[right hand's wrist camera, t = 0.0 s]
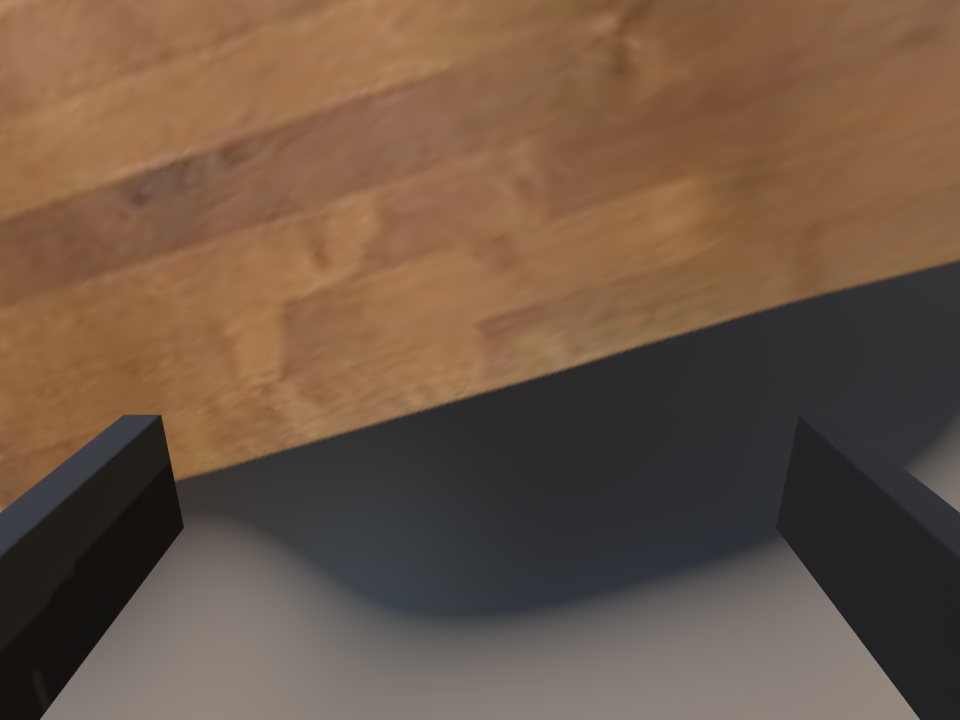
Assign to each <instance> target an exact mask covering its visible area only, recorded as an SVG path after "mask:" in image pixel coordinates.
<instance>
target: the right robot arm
mask: <svg viewBox="0 0 960 720" xmlns="http://www.w3.org/2000/svg"><path fill="white" fill-rule="evenodd" d="M183 528H184V526H183V521H182V516H181V511H180V506H179V501H178V496H177V492H176V487H175V482H174V477H173V472H172V467H171V462H170V457H169V452H168V447H167V442H166V437H165V432H164V427H163V422H162V417H161V415H123V416H122V417H121V418H119V419H118V420H117V421H116V422H114V423H113V424H112V425H111V426H109V427H108V428H107V429H105V430H104V431H103V432H102V433H100V434H99V435H98V436H97V437H95V438H94V439H93V440H92V441H90V442H89V443H88V444H87V445H85V446H84V447H83V448H81V449H80V450H79V451H78V452H76V453H75V454H74V455H73V456H71V457H70V458H69V459H68V460H66V461H65V462H64V463H63V464H61V465H60V466H59V467H58V468H56V469H55V470H54V471H52V472H51V473H50V474H49V475H47V476H46V477H45V478H44V479H42V480H41V481H40V482H39V483H37V484H36V485H35V486H34V487H32V488H31V489H30V490H29V491H27V492H26V493H25V494H23V495H22V496H21V497H20V498H18V499H17V500H16V501H15V502H13V503H12V504H11V505H10V506H8V507H7V508H6V509H5V510H3V511H2V512H1V513H0V720H40V719H41V717H42V716H43V715H44V713H45V712H46V711H47V709H48V708H49V707H50V705H51V704H52V703H53V701H54V700H55V699H56V697H57V696H58V695H59V693H60V692H61V691H62V689H63V688H64V687H65V685H66V684H67V683H68V681H69V680H70V679H71V677H72V676H73V675H74V673H75V672H76V671H77V669H78V668H79V667H80V665H81V664H82V663H83V661H84V660H85V659H86V657H87V656H88V655H89V653H90V652H91V651H92V649H93V648H94V647H95V645H96V644H97V643H98V641H99V640H100V639H101V637H102V636H103V635H104V633H105V632H106V631H107V629H108V628H109V627H110V625H111V624H112V623H113V621H114V620H115V619H116V617H117V616H118V615H119V613H120V612H121V611H122V609H123V608H124V607H125V605H126V604H127V603H128V601H129V600H130V599H131V597H132V596H133V595H134V593H135V592H136V591H137V589H138V588H139V587H140V585H141V584H142V583H143V581H144V580H145V579H146V577H147V576H148V575H149V573H150V572H151V571H152V569H153V568H154V567H155V565H156V564H157V563H158V561H159V560H160V559H161V557H162V556H163V555H164V553H165V552H166V551H167V549H168V548H169V547H170V545H171V544H172V543H173V541H174V540H175V539H176V537H177V536H178V535H179V533H180V532H181V531H182V529H183ZM776 528H777V529H778V531H779V532H780V533H781V535H782V536H783V537H784V539H785V540H786V541H787V543H788V544H789V545H790V547H791V548H792V549H793V551H794V552H795V553H796V555H797V556H798V557H799V559H800V560H801V561H802V563H803V564H804V565H805V567H806V568H807V569H808V571H809V572H810V573H811V575H812V576H813V577H814V579H815V580H816V581H817V583H818V584H819V585H820V587H821V588H822V589H823V591H824V592H825V593H826V595H827V596H828V597H829V599H830V600H831V601H832V603H833V604H834V605H835V607H836V608H837V609H838V611H839V612H840V613H841V615H842V616H843V617H844V619H845V620H846V621H847V623H848V624H849V625H850V627H851V628H852V629H853V631H854V632H855V633H856V635H857V636H858V637H859V639H860V640H861V641H862V643H863V644H864V645H865V647H866V648H867V649H868V651H869V652H870V653H871V655H872V656H873V657H874V659H875V660H876V661H877V663H878V664H879V665H880V667H881V668H882V669H883V671H884V672H885V673H886V675H887V676H888V677H889V679H890V680H891V681H892V683H893V684H894V685H895V687H896V688H897V689H898V691H899V692H900V693H901V695H902V696H903V697H904V699H905V700H906V701H907V703H908V704H909V705H910V707H911V708H912V709H913V711H914V712H915V713H916V715H917V716H918V717H919V719H920V720H960V513H959V512H958V511H957V510H955V509H954V508H953V507H952V506H950V505H949V504H948V503H947V502H945V501H944V500H943V499H942V498H940V497H939V496H938V495H937V494H935V493H934V492H933V491H931V490H930V489H929V488H928V487H926V486H925V485H924V484H923V483H921V482H920V481H919V480H918V479H916V478H915V477H914V476H913V475H911V474H910V473H909V472H907V471H906V470H905V469H904V468H902V467H901V466H900V465H899V464H897V463H896V462H895V461H894V460H892V459H891V458H890V457H889V456H887V455H886V454H885V453H884V452H882V451H881V450H880V449H879V448H877V447H876V446H875V445H873V444H872V443H871V442H870V441H868V440H867V439H866V438H865V437H863V436H862V435H861V434H860V433H858V432H857V431H856V430H855V429H853V428H852V427H851V426H849V425H848V424H847V423H846V422H844V421H843V420H842V419H841V418H839V417H838V416H837V415H799V417H798V422H797V427H796V432H795V437H794V442H793V447H792V452H791V457H790V462H789V467H788V472H787V477H786V482H785V486H784V491H783V496H782V501H781V506H780V511H779V517H778V521H777V526H776Z"/></svg>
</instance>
